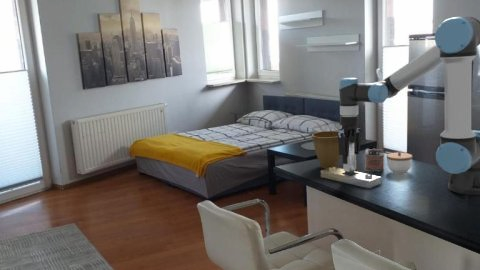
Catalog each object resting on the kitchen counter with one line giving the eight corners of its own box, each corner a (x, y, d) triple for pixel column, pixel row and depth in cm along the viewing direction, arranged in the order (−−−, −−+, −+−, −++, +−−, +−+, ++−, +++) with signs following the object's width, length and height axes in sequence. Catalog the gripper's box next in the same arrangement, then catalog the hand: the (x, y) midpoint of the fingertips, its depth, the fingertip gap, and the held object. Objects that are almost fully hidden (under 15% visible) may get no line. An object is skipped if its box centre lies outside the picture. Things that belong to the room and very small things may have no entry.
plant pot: (323, 161, 240) (322, 129, 237) (350, 165, 230) (350, 132, 227) (306, 168, 229) (305, 135, 226) (334, 172, 219) (333, 138, 216)
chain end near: (381, 183, 199) (381, 174, 198) (369, 188, 194) (369, 178, 193) (350, 177, 211) (350, 168, 210) (338, 181, 206) (338, 172, 205)
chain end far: (361, 179, 207) (361, 170, 206) (349, 183, 202) (349, 174, 201) (332, 173, 219) (332, 164, 218) (320, 176, 214) (320, 168, 213)
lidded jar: (415, 175, 208) (415, 153, 207) (390, 176, 209) (390, 155, 207) (407, 168, 219) (407, 148, 217) (383, 169, 219) (383, 149, 217)
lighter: (364, 170, 219) (364, 149, 217) (366, 168, 222) (366, 147, 220) (383, 172, 216) (383, 150, 214) (384, 170, 219) (384, 148, 217)
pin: (356, 177, 206) (356, 142, 203) (350, 179, 204) (350, 144, 201) (349, 175, 209) (348, 141, 206) (343, 177, 207) (342, 143, 204)
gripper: (354, 111, 209) (354, 164, 214) (328, 117, 199) (330, 172, 203) (368, 113, 203) (369, 167, 208) (343, 119, 193) (344, 175, 198)
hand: (349, 169), depth 206 cm, fingers closed on pin, 4 cm apart
